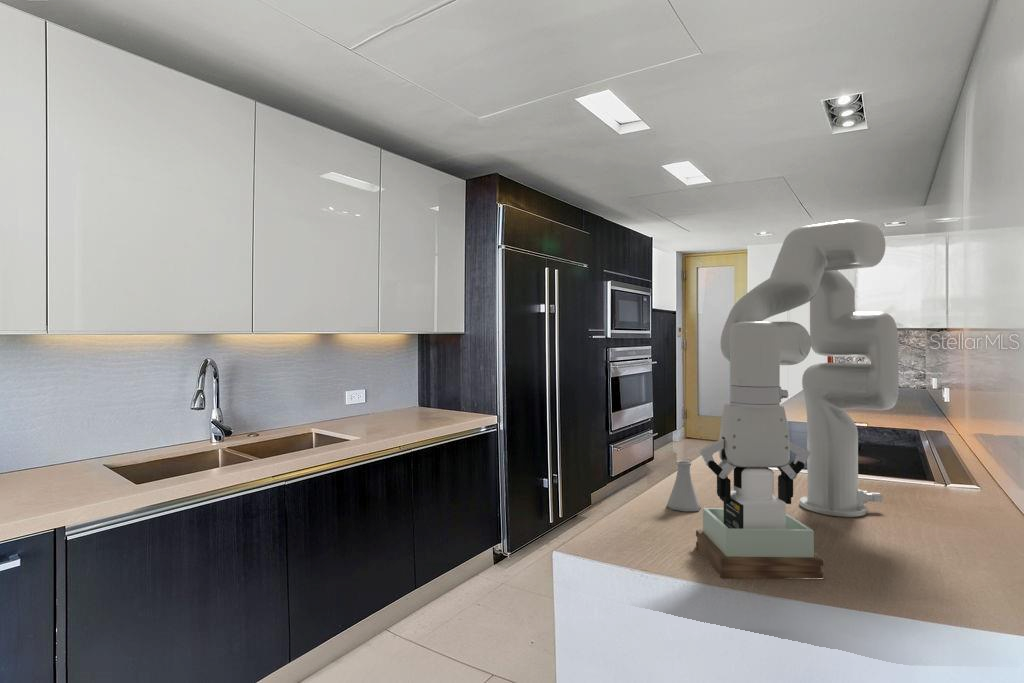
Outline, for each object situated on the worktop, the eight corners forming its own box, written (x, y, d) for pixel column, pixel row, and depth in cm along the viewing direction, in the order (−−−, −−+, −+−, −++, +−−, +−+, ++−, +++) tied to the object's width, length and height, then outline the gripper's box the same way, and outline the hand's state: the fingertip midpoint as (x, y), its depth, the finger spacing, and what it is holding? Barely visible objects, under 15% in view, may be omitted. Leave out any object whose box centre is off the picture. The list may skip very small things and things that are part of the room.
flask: (703, 513, 115) (703, 466, 115) (667, 511, 116) (667, 464, 116) (698, 504, 122) (698, 459, 122) (665, 502, 123) (665, 458, 123)
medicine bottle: (722, 532, 93) (722, 461, 93) (763, 531, 93) (763, 461, 93) (742, 548, 85) (742, 471, 86) (786, 547, 86) (786, 471, 86)
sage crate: (779, 532, 94) (779, 508, 94) (813, 557, 83) (813, 530, 83) (703, 531, 95) (702, 508, 95) (726, 556, 84) (726, 529, 84)
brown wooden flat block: (783, 548, 95) (783, 531, 95) (823, 579, 82) (823, 559, 82) (695, 547, 96) (695, 530, 96) (721, 578, 83) (721, 558, 83)
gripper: (796, 395, 93) (796, 495, 93) (694, 394, 93) (694, 494, 93) (820, 399, 85) (820, 508, 85) (708, 398, 86) (708, 507, 86)
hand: (754, 501), depth 89 cm, fingers open, 9 cm apart
